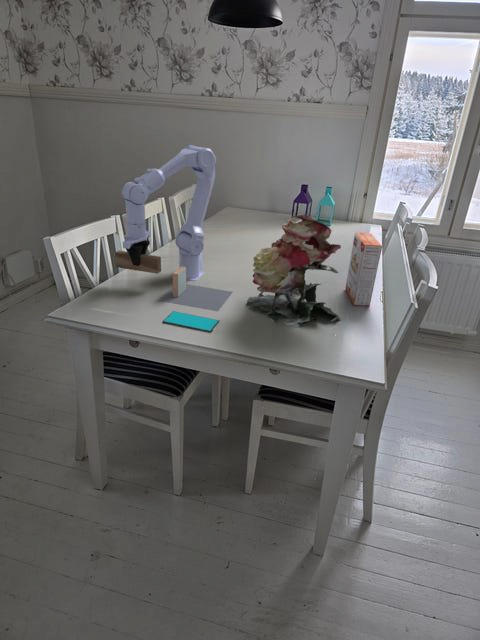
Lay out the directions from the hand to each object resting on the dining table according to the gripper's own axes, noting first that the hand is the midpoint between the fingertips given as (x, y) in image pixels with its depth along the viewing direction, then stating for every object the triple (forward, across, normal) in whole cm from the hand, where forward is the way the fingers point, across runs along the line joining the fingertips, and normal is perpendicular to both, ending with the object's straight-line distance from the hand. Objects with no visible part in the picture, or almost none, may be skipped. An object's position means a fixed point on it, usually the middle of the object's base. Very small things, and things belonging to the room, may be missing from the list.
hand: (138, 263), depth 139 cm
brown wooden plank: (+2, 0, 0) cm, 2 cm away
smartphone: (+9, +17, +25) cm, 32 cm away
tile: (+8, 0, +14) cm, 16 cm away
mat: (+8, 0, +20) cm, 22 cm away
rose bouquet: (+9, -3, +50) cm, 51 cm away
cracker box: (+9, -21, +71) cm, 74 cm away
